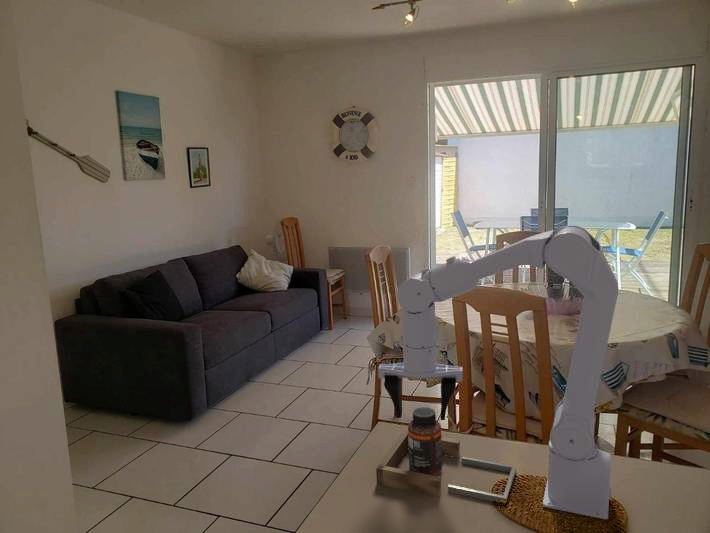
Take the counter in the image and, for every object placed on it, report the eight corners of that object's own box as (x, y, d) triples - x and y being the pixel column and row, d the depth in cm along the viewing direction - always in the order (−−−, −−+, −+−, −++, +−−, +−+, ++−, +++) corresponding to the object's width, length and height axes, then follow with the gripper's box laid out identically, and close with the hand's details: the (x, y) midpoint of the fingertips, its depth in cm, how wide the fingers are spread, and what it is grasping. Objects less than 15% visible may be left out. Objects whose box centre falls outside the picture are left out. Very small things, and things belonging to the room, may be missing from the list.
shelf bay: (459, 454, 105) (459, 440, 104) (438, 497, 92) (438, 481, 91) (404, 444, 109) (403, 430, 109) (376, 483, 96) (376, 468, 96)
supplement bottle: (441, 461, 103) (440, 404, 101) (443, 479, 97) (442, 419, 95) (408, 461, 103) (407, 404, 101) (408, 479, 97) (407, 419, 95)
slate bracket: (515, 471, 98) (516, 466, 98) (506, 504, 89) (506, 498, 89) (462, 461, 102) (462, 456, 102) (448, 491, 93) (448, 486, 93)
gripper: (462, 337, 98) (463, 408, 101) (381, 335, 101) (384, 404, 104) (461, 350, 91) (462, 426, 94) (375, 348, 94) (377, 422, 97)
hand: (421, 416), depth 98 cm, fingers open, 7 cm apart
